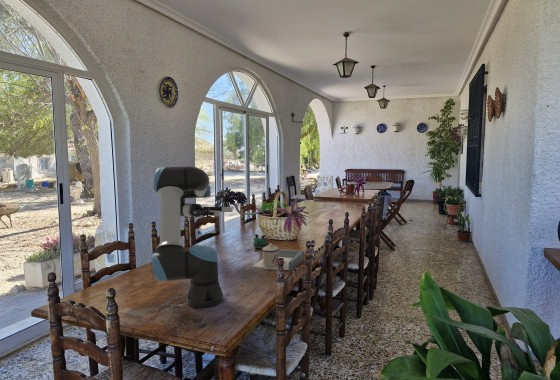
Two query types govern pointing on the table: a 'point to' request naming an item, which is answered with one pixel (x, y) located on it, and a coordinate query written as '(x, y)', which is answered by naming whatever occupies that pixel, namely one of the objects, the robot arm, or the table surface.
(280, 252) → the tray
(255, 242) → the binoculars
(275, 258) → the teacup with lid
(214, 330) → the table surface
